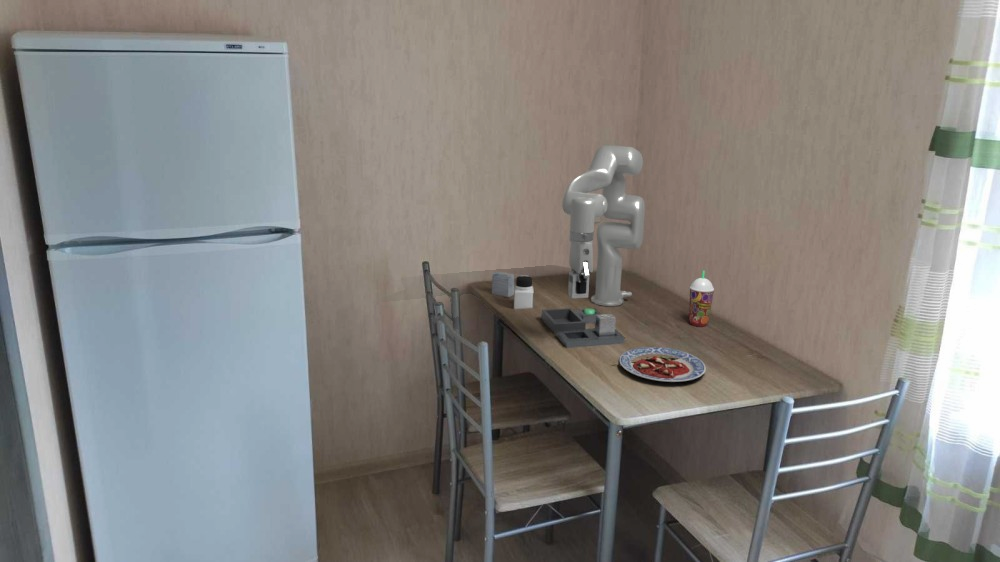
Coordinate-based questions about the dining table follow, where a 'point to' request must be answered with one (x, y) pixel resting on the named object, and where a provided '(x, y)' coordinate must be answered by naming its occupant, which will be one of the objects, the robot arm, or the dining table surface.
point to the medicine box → (503, 284)
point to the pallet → (587, 338)
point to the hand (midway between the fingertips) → (578, 290)
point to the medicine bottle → (523, 292)
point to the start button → (589, 311)
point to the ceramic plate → (663, 365)
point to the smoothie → (700, 301)
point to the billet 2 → (605, 325)
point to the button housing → (588, 315)
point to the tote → (562, 319)
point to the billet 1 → (573, 283)
